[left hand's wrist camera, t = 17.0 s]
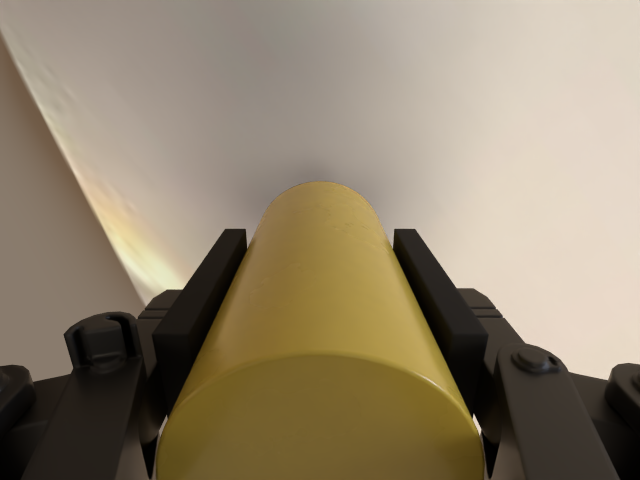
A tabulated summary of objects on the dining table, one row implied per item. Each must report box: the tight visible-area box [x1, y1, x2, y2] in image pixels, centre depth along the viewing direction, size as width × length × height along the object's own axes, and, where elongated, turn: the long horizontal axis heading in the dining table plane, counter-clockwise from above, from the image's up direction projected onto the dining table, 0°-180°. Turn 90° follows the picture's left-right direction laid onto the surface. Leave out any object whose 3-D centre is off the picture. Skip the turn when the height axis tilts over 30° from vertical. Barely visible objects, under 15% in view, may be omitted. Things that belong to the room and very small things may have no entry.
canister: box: [156, 181, 485, 480], centre depth 11 cm, size 6×6×11 cm
